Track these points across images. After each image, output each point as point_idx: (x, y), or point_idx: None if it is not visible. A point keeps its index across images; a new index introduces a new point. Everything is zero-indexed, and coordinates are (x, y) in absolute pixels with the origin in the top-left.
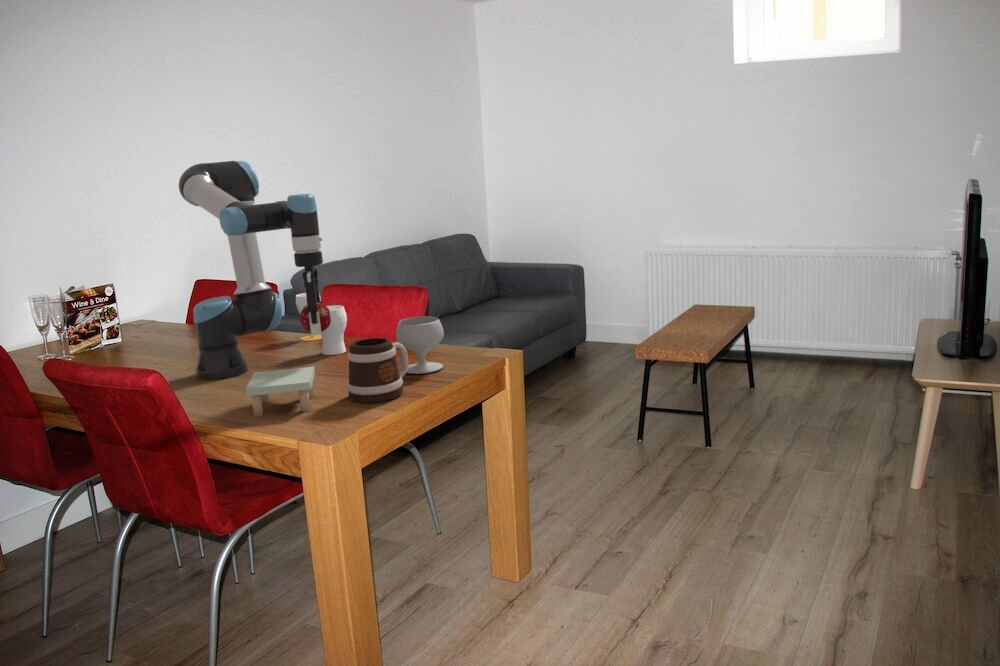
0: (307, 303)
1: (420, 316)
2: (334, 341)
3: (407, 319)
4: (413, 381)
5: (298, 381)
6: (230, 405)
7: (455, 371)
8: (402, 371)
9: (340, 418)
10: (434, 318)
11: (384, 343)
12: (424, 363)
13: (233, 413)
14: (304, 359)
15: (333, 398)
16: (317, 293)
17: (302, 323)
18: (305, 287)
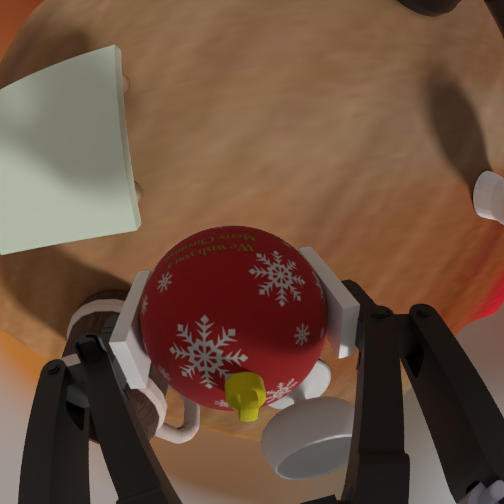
0: (36, 398)
1: None
2: (493, 206)
3: None
4: None
5: (3, 225)
6: (120, 13)
7: (260, 422)
8: (179, 394)
9: (10, 288)
10: (339, 465)
11: (91, 440)
12: (289, 396)
13: (57, 48)
14: (467, 133)
15: (115, 253)
16: (354, 419)
17: (173, 247)
18: (19, 497)
